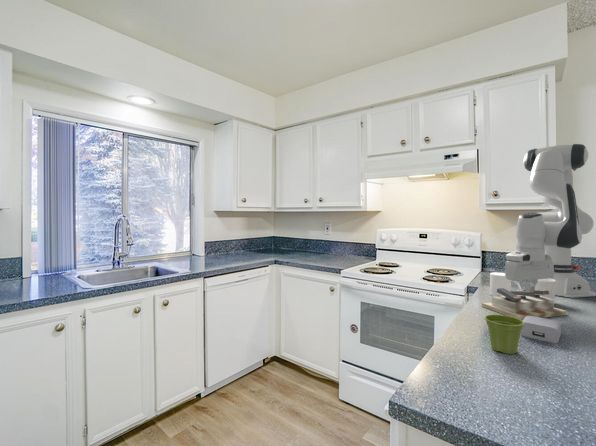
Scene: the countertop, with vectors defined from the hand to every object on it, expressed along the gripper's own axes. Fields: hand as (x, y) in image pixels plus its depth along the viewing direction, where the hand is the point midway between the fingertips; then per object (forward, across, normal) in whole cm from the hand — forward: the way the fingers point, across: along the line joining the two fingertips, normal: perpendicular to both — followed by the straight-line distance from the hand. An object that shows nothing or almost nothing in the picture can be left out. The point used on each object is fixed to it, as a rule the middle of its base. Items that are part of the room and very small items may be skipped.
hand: (529, 290), depth 119 cm
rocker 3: (+2, -7, -3) cm, 8 cm away
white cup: (+9, -19, -9) cm, 23 cm away
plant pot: (+9, +38, +23) cm, 45 cm away
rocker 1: (+2, +7, -3) cm, 8 cm away
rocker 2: (+2, 0, -3) cm, 4 cm away
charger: (+9, +15, +16) cm, 24 cm away
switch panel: (+9, 0, -3) cm, 9 cm away
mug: (+9, -12, -22) cm, 26 cm away
